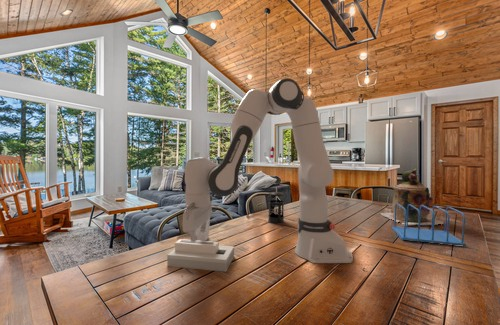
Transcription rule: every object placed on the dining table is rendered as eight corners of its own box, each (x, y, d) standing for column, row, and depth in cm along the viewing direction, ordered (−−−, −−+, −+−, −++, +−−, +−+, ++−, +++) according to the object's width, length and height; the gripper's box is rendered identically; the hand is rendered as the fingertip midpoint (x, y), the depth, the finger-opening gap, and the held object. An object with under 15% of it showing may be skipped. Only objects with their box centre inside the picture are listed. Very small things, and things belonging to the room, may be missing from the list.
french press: (287, 223, 142) (288, 183, 141) (272, 224, 139) (273, 184, 138) (278, 217, 153) (278, 181, 152) (264, 219, 150) (265, 181, 149)
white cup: (206, 242, 111) (206, 220, 111) (190, 240, 113) (189, 219, 112) (212, 236, 119) (212, 216, 119) (197, 235, 121) (197, 215, 120)
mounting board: (234, 256, 96) (234, 246, 96) (226, 271, 85) (226, 259, 84) (182, 252, 100) (182, 242, 100) (167, 266, 88) (167, 254, 88)
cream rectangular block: (218, 256, 93) (218, 241, 93) (215, 261, 89) (215, 245, 89) (179, 253, 96) (179, 238, 96) (174, 257, 92) (174, 242, 92)
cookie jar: (378, 215, 161) (380, 167, 159) (412, 214, 164) (414, 167, 162) (406, 227, 136) (409, 170, 135) (446, 226, 139) (449, 170, 137)
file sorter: (402, 241, 115) (403, 209, 114) (391, 230, 131) (392, 201, 131) (466, 247, 108) (468, 213, 107) (446, 234, 125) (448, 205, 124)
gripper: (194, 206, 81) (196, 247, 81) (214, 195, 101) (214, 228, 101) (177, 206, 82) (178, 246, 82) (199, 195, 102) (200, 227, 102)
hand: (198, 236), depth 92 cm, fingers open, 8 cm apart
